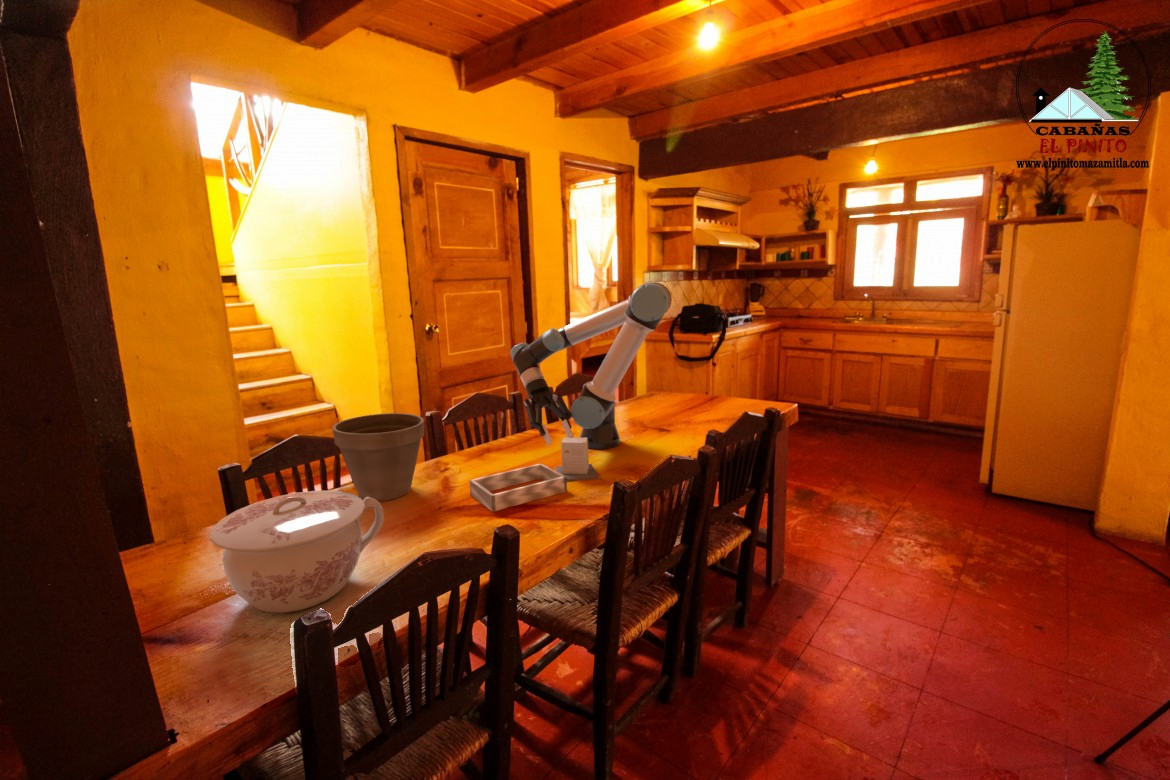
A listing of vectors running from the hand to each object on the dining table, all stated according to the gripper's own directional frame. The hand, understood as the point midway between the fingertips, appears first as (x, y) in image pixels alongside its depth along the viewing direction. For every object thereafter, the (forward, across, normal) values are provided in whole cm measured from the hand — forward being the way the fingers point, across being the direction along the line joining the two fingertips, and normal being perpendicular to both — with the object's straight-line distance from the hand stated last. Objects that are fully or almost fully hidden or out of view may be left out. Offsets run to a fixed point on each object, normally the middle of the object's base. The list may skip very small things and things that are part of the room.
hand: (560, 440), depth 183 cm
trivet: (+12, 0, 0) cm, 12 cm away
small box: (+12, 0, 0) cm, 12 cm away
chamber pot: (+28, +82, +20) cm, 89 cm away
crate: (+15, +22, +4) cm, 27 cm away
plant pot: (-3, +54, -14) cm, 56 cm away
